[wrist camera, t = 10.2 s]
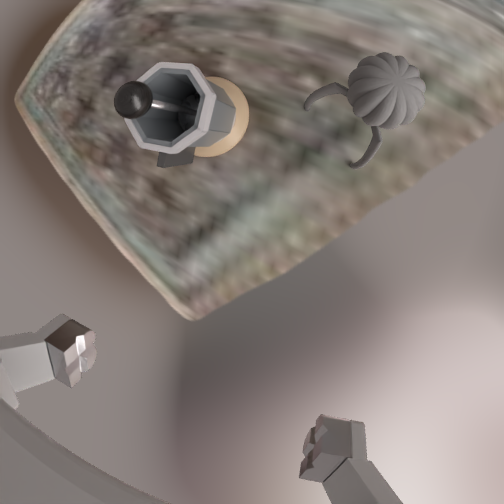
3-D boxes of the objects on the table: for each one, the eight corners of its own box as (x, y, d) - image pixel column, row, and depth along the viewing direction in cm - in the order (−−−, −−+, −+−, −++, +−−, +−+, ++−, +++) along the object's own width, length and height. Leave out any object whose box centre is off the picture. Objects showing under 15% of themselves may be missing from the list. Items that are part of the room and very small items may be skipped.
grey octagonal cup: (181, 73, 42) (132, 52, 29) (258, 84, 41) (232, 58, 27) (162, 153, 47) (109, 159, 34) (236, 170, 46) (202, 180, 32)
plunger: (184, 91, 39) (105, 66, 22) (223, 97, 39) (157, 67, 21) (175, 130, 42) (92, 126, 24) (213, 137, 41) (142, 134, 24)
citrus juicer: (353, 169, 42) (416, 205, 14) (291, 142, 43) (242, 128, 15) (380, 101, 38) (474, 35, 10) (318, 74, 38) (313, -37, 11)
